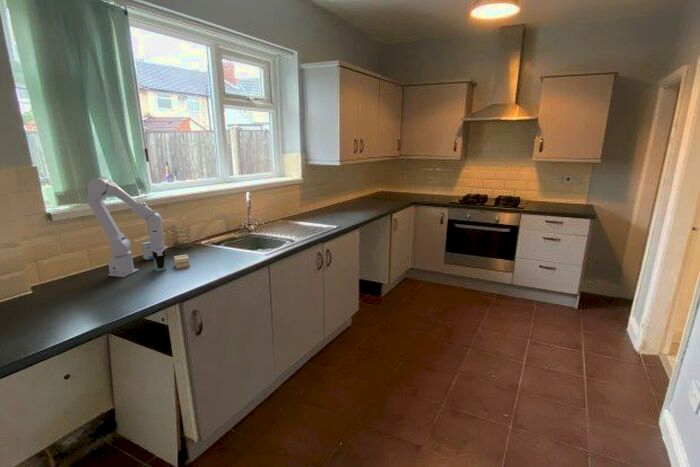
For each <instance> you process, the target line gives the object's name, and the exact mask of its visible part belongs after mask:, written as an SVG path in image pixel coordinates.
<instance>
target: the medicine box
mask: <svg viewBox="0 0 700 467" xmlns="http://www.w3.org/2000/svg"><path fill="white" fill-rule="evenodd" d="M141 249H142V256H143V259H144V260H147V261H150V260H154V257H153V255H152V254H153V253H152V252H151V243H150V240H149V241H145V242H141Z"/></svg>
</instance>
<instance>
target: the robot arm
mask: <svg viewBox="0 0 700 467" xmlns="http://www.w3.org/2000/svg"><path fill="white" fill-rule="evenodd" d="M86 189H87V195H86V202H87V203H88V205H89V207H90V208H91V210H92V212H93V214H94V215H95V217H96V219H97V221H98V222H99V224H100V225H101V227H102V229H103V231H104V232H105V234H106V236H107V238H108V243H109V246H110V251H111V253H112V255H113V256H112V257H111V258H110V259H108V260H107V261H108V262H107V265H108V270H109V274H108V276H110V277H117V278H118V277H119V278H125V277H127V276H129V275H131V274H134V273H136V272H138V271H139V268H135V267H134V260H133V259H134V258H133V252H132V251H131V247H132V241H131V240H130V239H129V238H127V237H126V235H125V233H123V232H122V231H121V230H120V229H119V226H118V225H117V223H116V222H115V219H114V217H112V215H111V213H110V211H109V209H108V208H107V207H106V204H105V203H104V201H103V200H104V197H105V195H110V196H115V197H116V198H118V199H119V200H121V201H122V202H124V203H126V205H128V206H130V209H131V211H132V213H134V214H136V216H138V217H139V218H141V219H143V221H145V223H146V226H148V234H149V241H150V243H151V252H152V253H153V254H152V255H153V257H154V258H155V260H156V263H157V266H158V268H164V259H165V260H166V257H167V253H165V251H166V249H168V248H169V247H168V246H167V245H166V246H165V239H164V230H163V225H162V220H163V217H162V214H160V212H157V211H156V210H154V209H152V208H150V207H149V206H148V205H147V203H146V202H143V201H141V200H139V201H137V200H136V199H134V197H132V196H131V195H130V194H128V193H127V191H125V190H124V189H122V188H121V187H120V185H118V184H117V183H115V182H114V181H112V180H110V178H108V177H106V176H100V177H99V176H98V178H93V179H92V180H91V181H90V182H89V183H88V185H87V186H86Z"/></svg>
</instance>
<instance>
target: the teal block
mask: <svg viewBox="0 0 700 467" xmlns="http://www.w3.org/2000/svg"><path fill="white" fill-rule="evenodd" d="M153 262H154V269H155V272H160V271H167V263H166V262H167V260H166V258H165V259H164V268H158V266H157V263H156V260H155V258H154V259H153Z"/></svg>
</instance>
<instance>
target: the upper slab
mask: <svg viewBox="0 0 700 467" xmlns="http://www.w3.org/2000/svg"><path fill="white" fill-rule="evenodd" d="M173 259H174V265H177V264H184V263H189V262H190V258H189V256H188V254H180V255H174V256H173Z"/></svg>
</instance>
